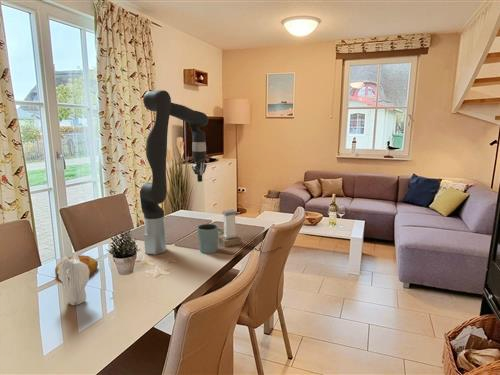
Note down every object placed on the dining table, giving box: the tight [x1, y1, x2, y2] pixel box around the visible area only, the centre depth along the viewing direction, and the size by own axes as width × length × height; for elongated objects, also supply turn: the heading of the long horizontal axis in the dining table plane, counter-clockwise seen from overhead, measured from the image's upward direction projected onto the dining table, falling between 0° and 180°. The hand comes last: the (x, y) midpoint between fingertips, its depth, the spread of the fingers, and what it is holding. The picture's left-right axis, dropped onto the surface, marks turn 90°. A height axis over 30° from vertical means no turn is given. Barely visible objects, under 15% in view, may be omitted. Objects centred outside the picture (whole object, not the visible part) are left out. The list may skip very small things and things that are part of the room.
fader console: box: [218, 226, 242, 248], centre depth 173 cm, size 22×9×3 cm, turn 28°
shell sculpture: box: [57, 252, 90, 306], centre depth 111 cm, size 8×8×18 cm
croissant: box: [54, 254, 99, 282], centre depth 133 cm, size 14×16×8 cm
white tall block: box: [221, 209, 238, 239], centre depth 165 cm, size 4×6×14 cm, turn 118°
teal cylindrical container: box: [197, 223, 219, 255], centre depth 157 cm, size 10×10×12 cm
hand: (199, 181), depth 182 cm, fingers closed
